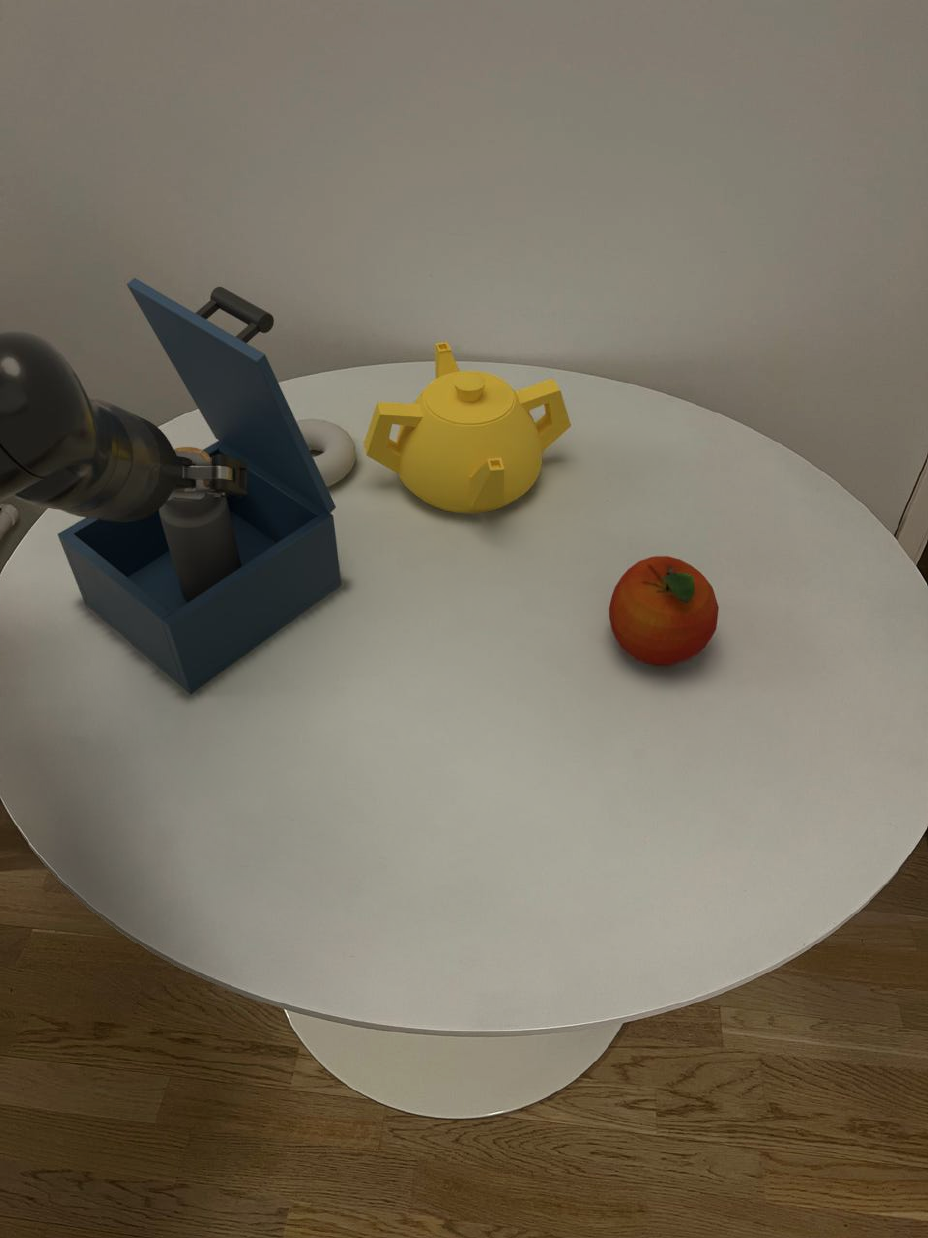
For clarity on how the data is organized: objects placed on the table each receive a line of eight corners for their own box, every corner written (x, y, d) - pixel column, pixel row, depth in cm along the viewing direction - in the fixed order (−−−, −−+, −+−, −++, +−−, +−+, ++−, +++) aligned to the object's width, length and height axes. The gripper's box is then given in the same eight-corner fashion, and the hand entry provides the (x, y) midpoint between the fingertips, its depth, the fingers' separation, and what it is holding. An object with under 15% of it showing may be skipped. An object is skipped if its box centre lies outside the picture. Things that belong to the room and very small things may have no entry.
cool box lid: (256, 361, 73) (306, 316, 75) (126, 283, 80) (174, 244, 82) (329, 514, 89) (369, 474, 91) (215, 438, 96) (254, 402, 98)
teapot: (358, 489, 106) (350, 394, 97) (442, 408, 115) (441, 315, 106) (497, 547, 100) (501, 452, 91) (572, 457, 110) (583, 363, 101)
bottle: (243, 610, 93) (214, 485, 82) (179, 612, 92) (141, 488, 81) (247, 565, 97) (221, 440, 86) (186, 567, 96) (151, 442, 85)
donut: (291, 510, 104) (374, 473, 107) (287, 484, 101) (372, 448, 105) (248, 459, 109) (329, 426, 113) (243, 433, 107) (325, 400, 110)
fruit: (686, 597, 96) (705, 519, 88) (724, 673, 90) (749, 596, 82) (590, 612, 94) (601, 534, 87) (622, 691, 88) (637, 614, 81)
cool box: (190, 694, 87) (169, 626, 81) (84, 604, 94) (56, 533, 88) (341, 585, 96) (333, 515, 90) (234, 509, 104) (219, 439, 97)
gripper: (210, 406, 66) (260, 438, 82) (-7, 402, 66) (85, 434, 82) (209, 521, 66) (259, 530, 82) (-7, 517, 66) (85, 527, 82)
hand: (172, 482), depth 82 cm, fingers open, 8 cm apart
